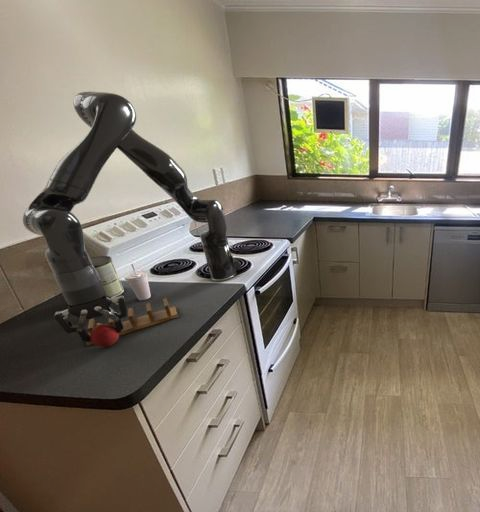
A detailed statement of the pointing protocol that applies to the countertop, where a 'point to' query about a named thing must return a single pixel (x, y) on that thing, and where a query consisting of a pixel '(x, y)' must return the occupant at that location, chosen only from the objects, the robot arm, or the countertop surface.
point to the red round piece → (104, 335)
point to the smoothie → (139, 283)
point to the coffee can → (107, 275)
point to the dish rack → (140, 319)
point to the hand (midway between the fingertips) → (105, 335)
